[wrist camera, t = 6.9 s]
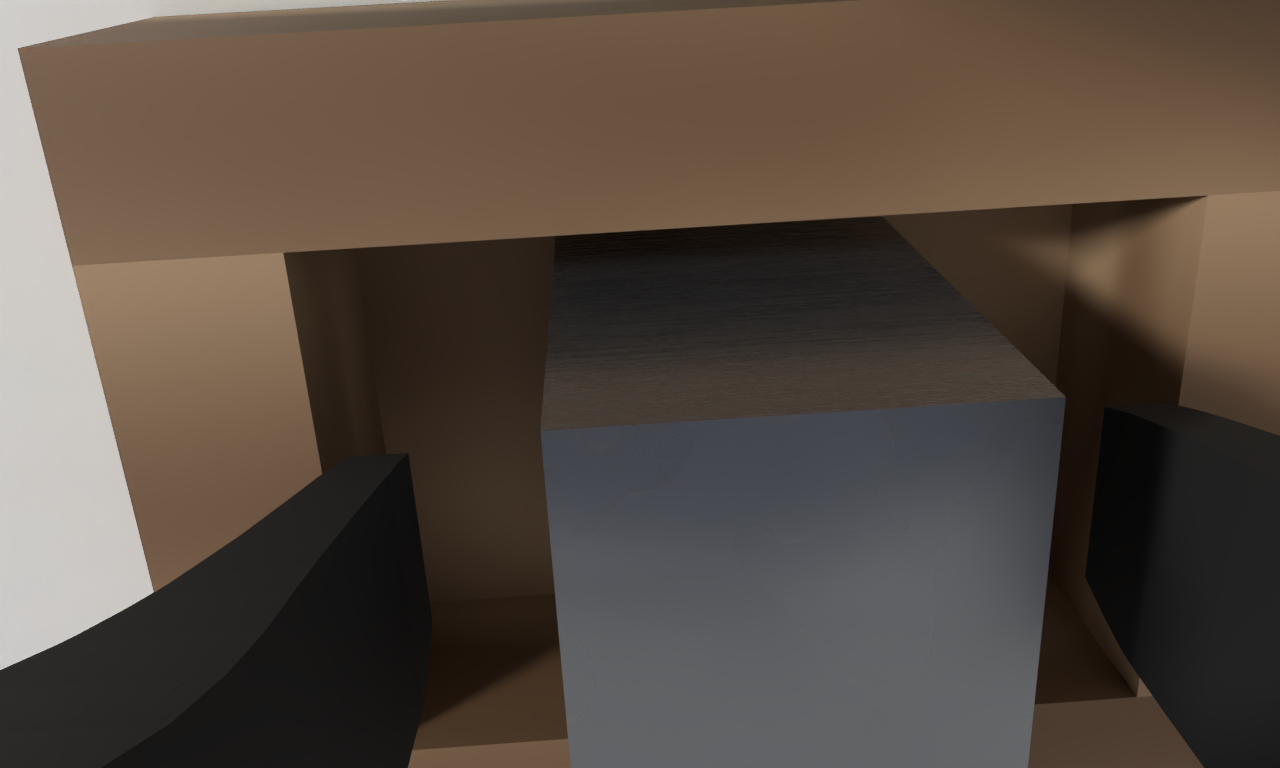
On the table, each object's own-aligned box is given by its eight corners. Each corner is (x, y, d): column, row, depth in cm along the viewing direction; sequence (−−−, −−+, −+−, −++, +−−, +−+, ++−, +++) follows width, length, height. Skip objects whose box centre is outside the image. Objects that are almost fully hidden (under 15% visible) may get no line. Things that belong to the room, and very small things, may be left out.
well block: (1146, 649, 17) (1276, 816, 14) (297, 711, 17) (230, 895, 14) (1246, -45, 14) (1453, -34, 10) (154, 16, 13) (17, 47, 10)
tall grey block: (867, 493, 16) (1024, 807, 10) (578, 513, 16) (576, 841, 10) (875, 210, 14) (1066, 397, 9) (556, 229, 14) (540, 431, 9)
